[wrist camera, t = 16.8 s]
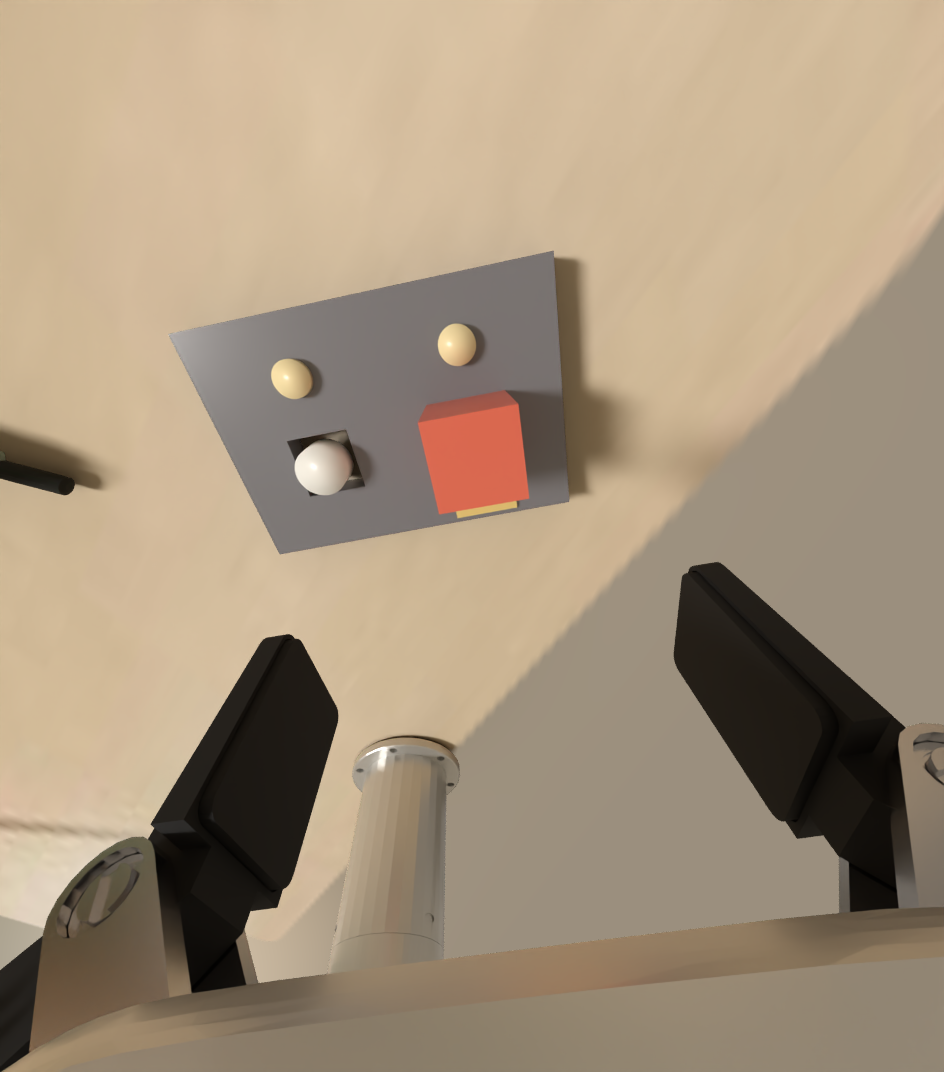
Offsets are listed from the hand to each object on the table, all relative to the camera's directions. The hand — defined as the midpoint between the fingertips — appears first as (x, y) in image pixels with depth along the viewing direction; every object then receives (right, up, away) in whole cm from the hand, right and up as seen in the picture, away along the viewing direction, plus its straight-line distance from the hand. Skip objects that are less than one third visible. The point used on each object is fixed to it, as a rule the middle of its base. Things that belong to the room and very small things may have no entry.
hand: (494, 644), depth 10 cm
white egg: (-10, +8, +17) cm, 21 cm away
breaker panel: (-6, +11, +17) cm, 21 cm away
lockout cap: (-1, +9, +16) cm, 18 cm away
